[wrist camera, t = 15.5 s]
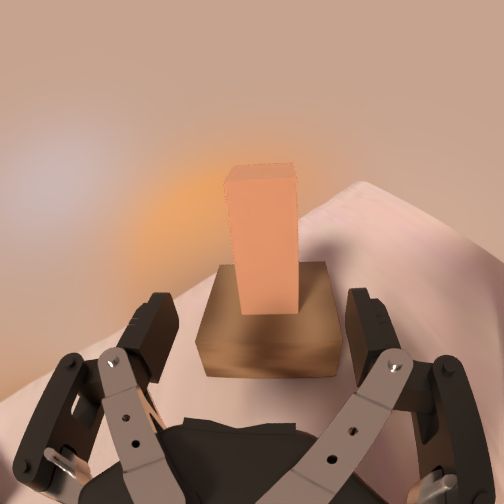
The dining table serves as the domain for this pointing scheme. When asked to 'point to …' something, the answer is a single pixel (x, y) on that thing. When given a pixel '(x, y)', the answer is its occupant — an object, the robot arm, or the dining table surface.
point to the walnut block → (271, 331)
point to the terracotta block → (264, 236)
